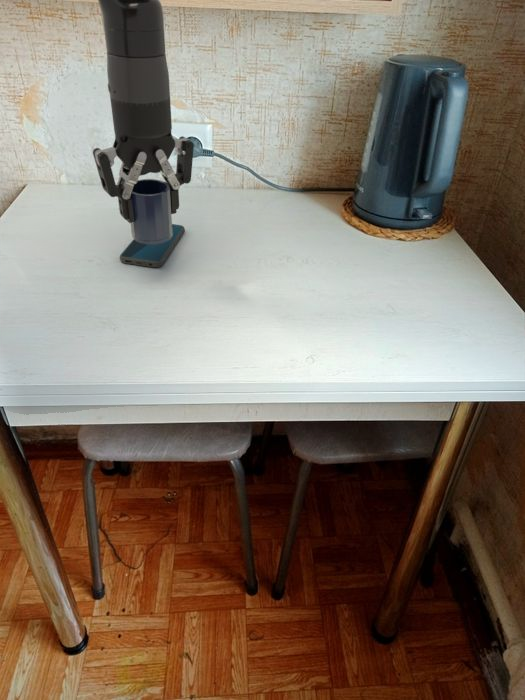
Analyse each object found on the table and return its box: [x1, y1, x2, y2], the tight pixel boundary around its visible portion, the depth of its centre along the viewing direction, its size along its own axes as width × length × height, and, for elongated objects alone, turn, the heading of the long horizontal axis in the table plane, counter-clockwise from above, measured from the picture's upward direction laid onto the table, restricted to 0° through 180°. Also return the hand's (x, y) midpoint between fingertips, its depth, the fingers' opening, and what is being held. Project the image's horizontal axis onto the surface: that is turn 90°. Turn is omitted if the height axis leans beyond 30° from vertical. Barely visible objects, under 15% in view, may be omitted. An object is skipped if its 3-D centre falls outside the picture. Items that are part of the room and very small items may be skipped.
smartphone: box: [119, 223, 185, 268], centre depth 92 cm, size 8×15×1 cm, turn 170°
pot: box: [130, 178, 173, 244], centre depth 75 cm, size 6×6×8 cm
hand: (151, 215), depth 75 cm, fingers closed on pot, 6 cm apart
